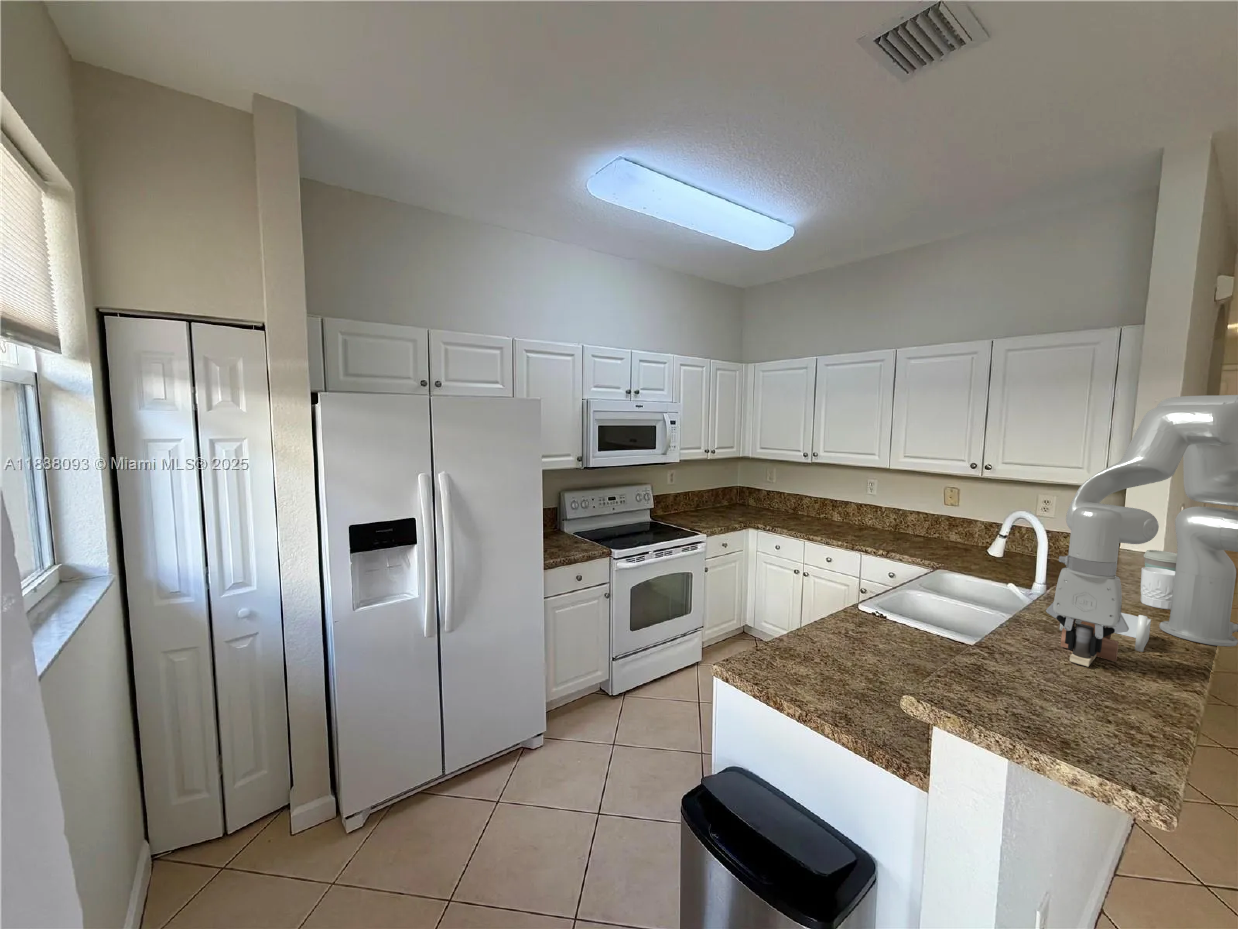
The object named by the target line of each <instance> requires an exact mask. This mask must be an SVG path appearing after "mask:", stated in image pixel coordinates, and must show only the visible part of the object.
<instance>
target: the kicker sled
mask: <svg viewBox="0 0 1238 929" xmlns="http://www.w3.org/2000/svg"><path fill="white" fill-rule="evenodd" d="M1075 627H1076V628H1075V629H1076V630H1075V640H1074V649H1073V650H1072V651H1073V652H1072V653H1071V654H1070V655H1069V662H1071V663H1073V664H1077V665H1081V666H1085V667H1087V668H1089V666H1090V665H1091V664H1092V663H1093V661H1094V660H1095V659H1096V657H1097V658H1100V659H1105V660H1108V661H1113V662H1117V659H1118V652H1119V650H1118V649H1119V641H1118V640H1113V639H1111V638H1110V639H1106V638H1103V639H1102V648H1101V652H1100V653H1099V652H1097V654H1096V655H1095V656H1091V655H1090V646H1091V638H1092V636H1093V632H1094V628H1093V627H1091V626H1089V625H1085V624H1077V623H1075ZM1060 637H1061V638H1060V647H1061V648H1065V649H1068V644H1066V643H1065V637H1066V630H1065V629H1064V628H1063V629H1062V631H1061V636H1060Z"/></svg>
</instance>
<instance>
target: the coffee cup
mask: <svg viewBox="0 0 1238 929" xmlns="http://www.w3.org/2000/svg"><path fill="white" fill-rule="evenodd" d="M1143 557H1144V567H1152V568H1161V569H1166V570H1171V571H1175V570H1176V561H1177V552H1172V551H1166V550H1159V549H1158V550H1157V549H1156V550H1155V549H1148V550H1146V551H1145V553H1144V554H1143Z"/></svg>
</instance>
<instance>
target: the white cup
mask: <svg viewBox="0 0 1238 929" xmlns="http://www.w3.org/2000/svg"><path fill="white" fill-rule="evenodd" d="M1140 574H1141V576H1140V577H1141V578H1140V602H1141V603H1142V604H1143V605H1145V606H1148V607H1153V608H1156V609H1162V610H1171V604H1172V595H1173V587H1174V578H1175V571H1171V570H1166V569H1161V568H1152V567H1145V566H1144V567H1141V572H1140Z"/></svg>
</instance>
